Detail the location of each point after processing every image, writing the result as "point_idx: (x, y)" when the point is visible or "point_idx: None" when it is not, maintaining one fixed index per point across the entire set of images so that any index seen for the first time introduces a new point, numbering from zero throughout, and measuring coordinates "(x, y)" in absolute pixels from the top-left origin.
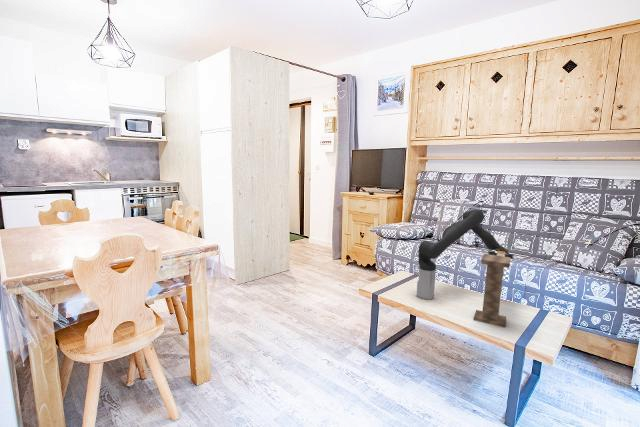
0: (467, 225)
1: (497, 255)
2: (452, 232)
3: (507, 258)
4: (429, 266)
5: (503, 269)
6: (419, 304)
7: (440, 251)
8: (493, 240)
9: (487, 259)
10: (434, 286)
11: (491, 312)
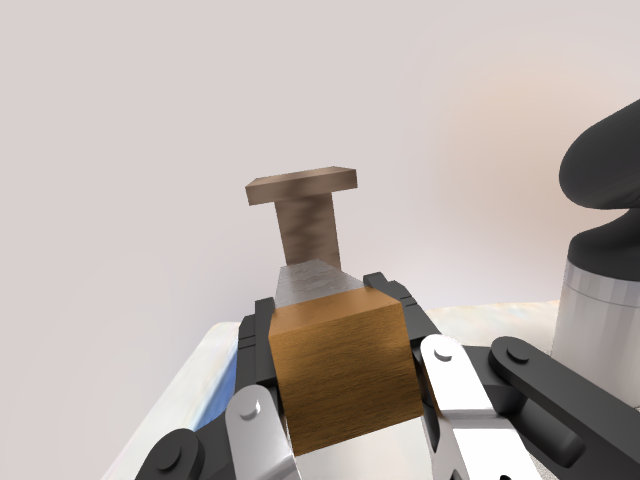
0: None
1: (346, 279)
2: None
3: (259, 182)
4: (575, 236)
5: (283, 267)
6: (513, 321)
7: (586, 172)
8: None
9: (319, 169)
10: (575, 344)
11: None
